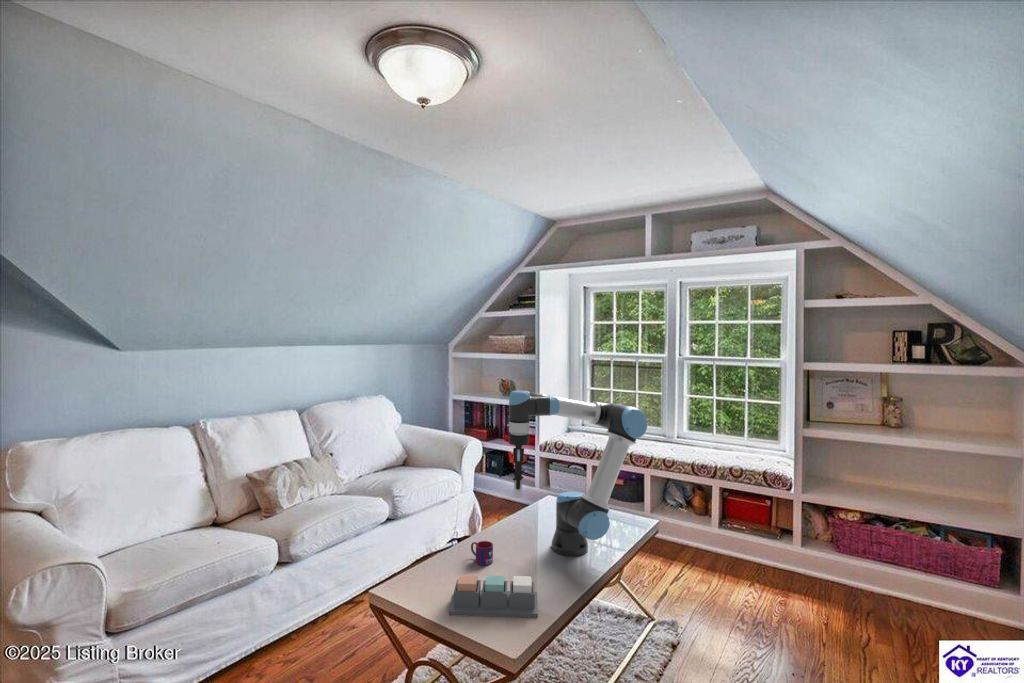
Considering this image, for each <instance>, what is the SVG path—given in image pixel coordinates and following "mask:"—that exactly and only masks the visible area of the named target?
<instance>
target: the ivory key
mask: <svg viewBox="0 0 1024 683" xmlns="http://www.w3.org/2000/svg"><path fill="white" fill-rule="evenodd" d="M512 579H513V580H512V581H513V593H532V582H533V581H532V576H529V575H513V578H512Z"/></svg>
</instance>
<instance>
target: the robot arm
mask: <svg viewBox="0 0 1024 683" xmlns="http://www.w3.org/2000/svg"><path fill="white" fill-rule="evenodd" d="M538 416H539V417H542V416H543V417H545V416H547V417H548V416H549V417H550V416H557V417H563V418H568V419H575V420H582V421H586V422H588V423H589V424H591V425H597V426H599V427H602V428H604V429H607V432H606V434H607V436H608V439H607V443H606V445H605V448H604V450H603V452H602V455H601V457H600V460H599V463H598V464H597V468H596V471H595V472H594V474H593V477H592V480H591V483H590V485H589V488H588V491H587V492H586V494H584V493H583V492H580V491H564V492H560V493H558V494H557V495H556V500H555V505H556V506H555V507H556V508H555V510H556V511H555V513H556V514H555V518H556V519H555V531H554V533H553V536H552V539H551V549H552V551H553V552H555V553H557V554H559V555H562V556H567V557H569V556H570V557H575V556H576V557H577V556H582V555H585V554H586V553H587V552H588V549H589V542H588V540H590V541H597V540H599V539H602V538H603V537H605V535H606V534H607V532H608V531H609V529H610V527H611V526H610V525H611V524H610V523H611V521H610V517H609V516H608V514H609V512H610V507H609V504H608V503H609V500H610V498H611V495H612V492H613V489H614V488H615V485H616V482H617V479H618V476H619V474H620V472H621V469H622V467H623V464H624V461H625V459H626V456H627V453H628V450H629V448H630V446H633V445H635V444H636V441H637V439H639V438H641V437H643V436H644V435H645V434H646V432H647V430H648V429H647V428H648V420H647V417H646V415H645V413H644V412H643V411H642V410H641V409H639V408H637V407H634V406H630V405H627V404H625V405H624V404H620V403H615V402H599V401H592V402H588V401H587V402H586V401H582V400H575V399H569V398H565V397H559V396H557V395H551V394H548V395H547V394H542V393H537V392H531V391H530V390H512V391H511V392H510V393H509V398H508V423H507V424H506V426H507V427H508V432H509V433H508V443H509V445H512V446H515V447H513V448H512V450H513V451H512V452H513V453H512V454H513V462H514V477H512V481H514V484H513V485H514V486H513V488H514V490H513V498H514V499H522V498H523V497H522V495H523V494H522V493H523V492H522V491H523V489H522V488H523V484H522V483H523V479H524V476H523V472H522V470H523V468H522V467H523V462H524V455H525V448H524V447H523V446H527V445H529V444H530V434H529V432H530V417H538Z"/></svg>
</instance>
